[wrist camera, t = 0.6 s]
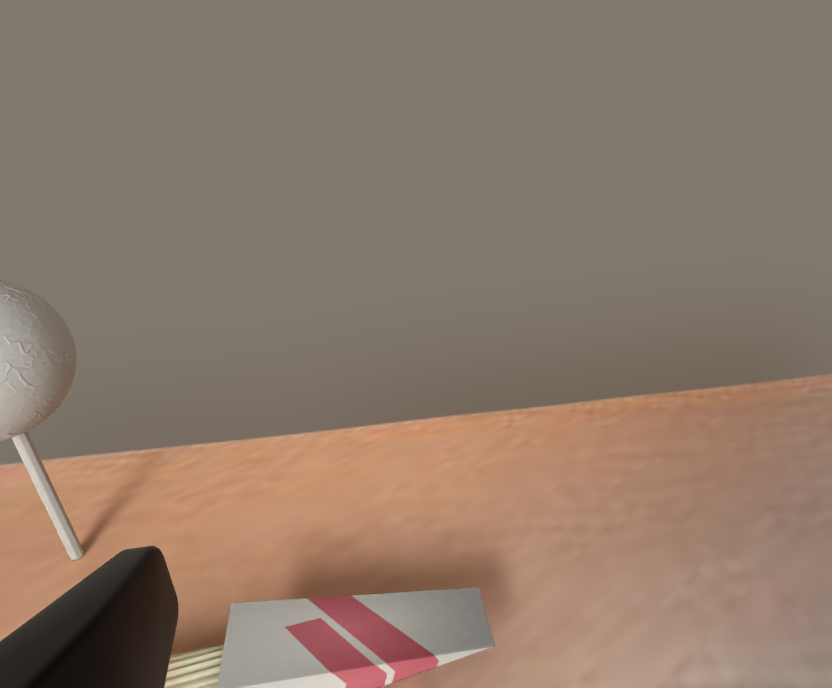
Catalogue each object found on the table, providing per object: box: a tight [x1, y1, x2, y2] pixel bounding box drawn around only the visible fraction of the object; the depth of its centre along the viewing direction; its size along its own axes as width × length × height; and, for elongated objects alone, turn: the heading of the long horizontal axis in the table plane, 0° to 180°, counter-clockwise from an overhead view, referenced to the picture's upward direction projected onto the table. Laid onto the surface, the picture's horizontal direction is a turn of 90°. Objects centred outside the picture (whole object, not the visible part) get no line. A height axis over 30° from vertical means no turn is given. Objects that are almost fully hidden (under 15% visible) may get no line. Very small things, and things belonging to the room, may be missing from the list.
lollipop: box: [0, 280, 84, 560], centre depth 30 cm, size 7×7×15 cm
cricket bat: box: [164, 587, 495, 688], centre depth 24 cm, size 4×3×20 cm
